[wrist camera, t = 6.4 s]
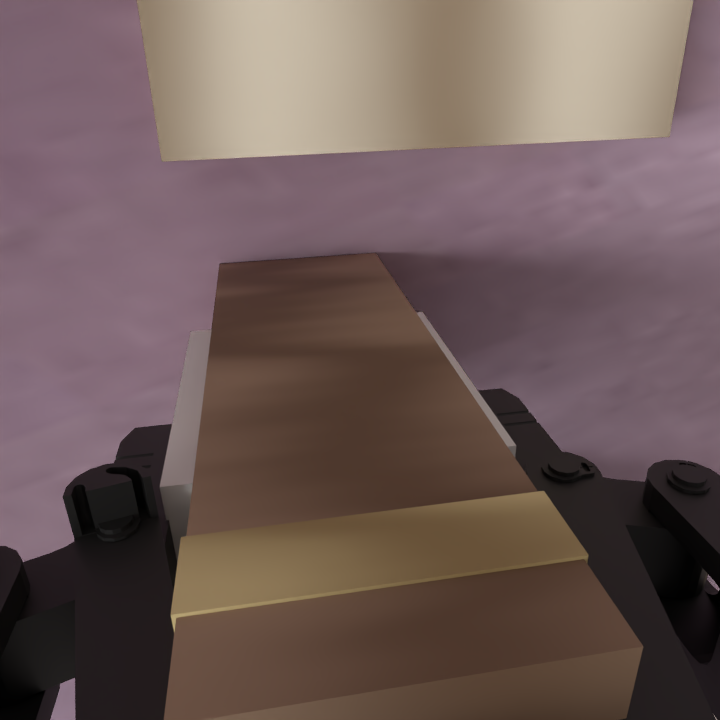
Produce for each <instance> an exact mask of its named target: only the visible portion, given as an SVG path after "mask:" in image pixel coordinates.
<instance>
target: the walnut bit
mask: <svg viewBox="0 0 720 720" xmlns="http://www.w3.org/2000/svg"><path fill="white" fill-rule="evenodd" d="M588 556H589V555H588V553H587V552H586V551H585V549H584V548H583V546H582V545H581V543H580V542H579V540H578V539H577V538H576V536H575V535H574V533H573V532H572V530H571V529H570V528H569V526H568V525H567V523H566V522H565V520H564V519H563V517H562V516H561V515H560V513H559V512H558V510H557V509H556V507H555V506H554V505H553V503H552V502H551V500H550V499H549V497H548V496H547V494H546V493H545V492H544V491H537V489H536V488H535V486H534V485H533V483H532V482H531V481H530V479H529V478H528V476H527V475H526V473H525V472H524V470H523V469H522V467H521V466H520V464H519V463H518V461H517V460H516V458H515V457H514V456H513V454H512V453H511V451H510V450H509V448H508V447H507V445H506V444H505V442H504V441H503V439H502V438H501V436H500V435H499V434H498V432H497V431H496V429H495V428H494V426H493V425H492V423H491V422H490V420H489V419H488V417H487V416H486V414H485V413H484V411H483V410H482V409H481V407H480V406H479V404H478V403H477V401H476V400H475V398H474V397H473V395H472V394H471V392H470V391H469V389H468V388H467V386H466V385H465V384H464V382H463V381H462V379H461V378H460V376H459V375H458V373H457V372H456V370H455V369H454V367H453V366H452V364H451V363H450V361H449V360H448V359H447V357H446V356H445V354H444V353H443V351H442V350H441V348H440V347H439V345H438V344H437V342H436V341H435V339H434V338H433V337H432V335H431V334H430V332H429V331H428V329H427V328H426V326H425V325H424V323H423V322H422V320H421V319H420V317H419V316H418V314H417V313H416V312H415V310H414V309H413V307H412V306H411V304H410V303H409V301H408V300H407V298H406V297H405V295H404V294H403V292H402V291H401V289H400V288H399V287H398V285H397V284H396V282H395V281H394V279H393V278H392V276H391V275H390V273H389V272H388V270H387V269H386V267H385V266H384V264H383V263H382V262H381V260H380V259H379V257H378V256H377V254H376V253H366V254H352V255H338V256H324V257H309V258H295V259H281V260H267V261H253V262H239V263H225V264H220V265H219V273H218V281H217V289H216V298H215V306H214V314H213V322H212V330H211V338H210V346H209V355H208V363H207V371H206V379H205V387H204V395H203V404H202V412H201V420H200V428H199V436H198V444H197V453H196V461H195V469H194V477H193V485H192V493H191V501H190V510H189V518H188V526H187V534H186V536H184V537H181V540H180V548H179V555H178V563H177V570H176V578H175V585H174V593H173V600H172V608H171V619H172V624H173V629H174V640H173V648H172V657H171V665H170V673H169V681H168V689H167V697H166V705H165V714H164V720H620V719H625V718H627V714H628V709H629V705H630V701H631V697H632V692H633V688H634V684H635V680H636V675H637V671H638V667H639V663H640V659H641V654H642V650H643V645H642V644H641V642H640V641H639V639H638V638H637V636H636V635H635V633H634V632H633V630H632V629H631V628H630V626H629V625H628V623H627V622H626V620H625V619H624V617H623V616H622V614H621V613H620V611H619V610H618V608H617V607H616V605H615V604H614V603H613V601H612V600H611V598H610V597H609V595H608V594H607V592H606V591H605V589H604V588H603V586H602V585H601V583H600V582H599V580H598V579H597V578H596V576H595V575H594V573H593V572H592V570H591V569H590V567H589V566H588V564H587V562H588Z"/></svg>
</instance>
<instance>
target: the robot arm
mask: <svg viewBox="0 0 720 720" xmlns="http://www.w3.org/2000/svg"><path fill="white" fill-rule="evenodd" d="M416 313H417V314H418V316H419V317H420V319H421V320H422V322H423V323H424V325H425V326H426V328H427V329H428V331H429V332H430V334H431V335H432V337H433V338H434V339H435V341H436V342H437V344H438V345H439V347H440V348H441V350H442V351H443V353H444V354H445V356H446V357H447V359H448V360H449V361H450V363H451V364H452V366H453V367H454V369H455V370H456V372H457V373H458V375H459V376H460V378H461V379H462V381H463V382H464V384H465V385H466V386H467V388H468V389H469V391H470V392H471V394H472V395H473V397H474V398H475V400H476V401H477V403H478V404H479V406H480V407H481V409H482V410H483V411H484V413H485V414H486V416H487V417H488V419H489V420H490V422H491V423H492V425H493V426H494V428H495V429H496V431H497V432H498V434H499V435H500V436H501V438H502V439H503V441H504V442H505V444H506V445H507V447H508V448H509V450H510V451H511V453H512V454H513V456H514V457H515V458H516V460H517V461H518V463H519V464H520V466H521V467H522V469H523V470H524V472H525V473H526V475H527V476H528V478H529V479H530V481H531V482H532V483H533V485H534V486H535V488H536V489H537V491H544V492H545V493H546V494H547V496H548V497H549V499H550V500H551V502H552V503H553V505H554V506H555V507H556V509H557V510H558V512H559V513H560V515H561V516H562V517H563V519H564V520H565V522H566V523H567V525H568V526H569V528H570V529H571V530H572V532H573V533H574V535H575V536H576V538H577V539H578V540H579V542H580V543H581V545H582V546H583V548H584V549H585V551H586V552H587V553H588V555H589V556H588V562H587V564H588V566H589V567H590V569H591V570H592V572H593V573H594V575H595V576H596V578H597V579H598V580H599V582H600V583H601V585H602V586H603V588H604V589H605V591H606V592H607V594H608V595H609V597H610V598H611V600H612V601H613V603H614V604H615V605H616V607H617V608H618V610H619V611H620V613H621V614H622V616H623V617H624V619H625V620H626V622H627V623H628V625H629V626H630V628H631V629H632V630H633V632H634V633H635V635H636V636H637V638H638V639H639V641H640V642H641V644H642V645H643V650H642V654H641V659H640V663H639V667H638V671H637V675H636V680H635V684H634V688H633V692H632V697H631V701H630V705H629V709H628V714H627V718H625V719H620V720H716V719H715V717H716V718H717V719H718V720H720V590H719V591H718V590H716V589H715V588H714V587H713V586H712V585H711V584H710V583H709V582H708V580H707V576H708V574H709V575H710V577H711V578H712V579H713V580H714V581H715V582H716V584H717V585H718V587H719V588H720V475H719V474H717V473H715V472H714V471H712V470H711V469H709V468H706V467H704V466H701V465H699V464H697V463H693V462H689V461H688V462H687V461H683V460H664V461H661V462H657V463H654V464H653V465H652V466H651V467H650V468H649V469H648V472H647V477H646V482H639V481H628V480H616V479H610V478H603V477H602V474H601V472H600V471H599V470H598V469H597V467H596V466H595V465H594V464H593V463H591V462H590V461H588V460H587V459H585V458H583V457H581V456H578V455H575V454H572V453H567V452H562V451H561V450H560V449H559V448H558V446H557V445H556V444H555V443H554V441H553V440H552V439H551V438H550V436H549V435H548V434H547V433H546V431H545V430H544V429H543V428H542V427H541V425H540V424H539V423H537V422H536V419H535V418H534V417H533V415H532V414H531V413H529V412H528V409H527V408H526V407H525V405H524V404H523V403H522V402H521V401H520V399H519V398H517V397H516V396H514V395H512V394H510V393H509V392H507V391H505V390H503V389H502V388H501V389H491V390H481V391H478V390H477V389H476V388H475V386H474V385H473V383H472V382H471V380H470V379H469V378H468V376H467V375H466V373H465V372H464V370H463V369H462V368H461V366H460V365H459V363H458V362H457V360H456V359H455V358H454V356H453V355H452V353H451V352H450V351H449V349H448V348H447V346H446V345H445V343H444V342H443V341H442V339H441V338H440V336H439V335H438V333H437V332H436V331H435V329H434V328H433V326H432V325H431V323H430V322H429V321H428V319H427V318H426V316H425V315H424V314H423V312H416ZM210 338H211V330H200V331H191V332H190V337H189V342H188V347H187V352H186V357H185V362H184V367H183V372H182V377H181V382H180V387H179V392H178V397H177V402H176V407H175V412H174V417H173V422H172V424H168V425H158V426H149V427H139V428H135V429H134V430H133V431H131V432H130V433H129V434H128V435H127V436H126V437H125V438H124V439H123V440H122V441H121V443H120V446H119V449H118V452H117V455H116V460H115V462H114V463H112V464H105V465H102V466H99V467H96V468H93V469H90V470H88V471H86V472H85V473H83V474H81V475H79V476H78V477H76V478H75V479H74V480H73V481H72V482H71V483H70V484H69V485H68V486H67V487H66V489H65V492H64V495H63V499H64V503H65V507H66V510H67V514H68V517H69V521H70V524H71V528H72V531H73V535H74V542H73V543H71V544H69V545H68V546H66V547H64V548H62V549H59V550H57V551H54V552H52V553H49V554H46V555H43V556H40V557H37V558H34V559H31V560H29V561H26V562H22V559H21V557H20V556H19V554H18V553H17V551H16V550H13V549H11V548H8V547H6V546H0V720H50V718H51V715H52V712H53V708H54V705H55V702H56V699H57V695H58V692H59V689H60V683H63V682H65V681H67V680H70V679H72V678H75V709H76V720H164V714H165V705H166V697H167V689H168V681H169V673H170V665H171V657H172V648H173V640H174V629H173V624H172V619H171V608H172V600H173V593H174V585H175V578H176V570H177V563H178V555H179V548H180V540H181V537H184V536H186V534H187V526H188V518H189V510H190V501H191V493H192V485H193V477H194V469H195V461H196V453H197V444H198V436H199V428H200V420H201V412H202V404H203V395H204V387H205V379H206V371H207V363H208V355H209V346H210ZM713 714H714V715H715V717H714V715H713Z"/></svg>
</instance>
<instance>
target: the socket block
mask: <svg viewBox="0 0 720 720" xmlns="http://www.w3.org/2000/svg"><path fill="white" fill-rule="evenodd" d="M137 5H138V11H139V18H140V24H141V31H142V37H143V44H144V50H145V56H146V63H147V69H148V76H149V82H150V89H151V95H152V102H153V108H154V115H155V121H156V128H157V134H158V141H159V147H160V154H161V160H162V162H164V161H185V160H205V159H226V158H246V157H267V156H287V155H308V154H328V153H349V152H370V151H390V150H411V149H431V148H452V147H472V146H493V145H513V144H534V143H554V142H575V141H595V140H616V139H636V138H657V137H669V136H670V130H671V125H672V119H673V113H674V108H675V102H676V96H677V90H678V85H679V79H680V73H681V68H682V62H683V56H684V51H685V45H686V39H687V34H688V28H689V22H690V16H691V11H692V5H693V0H137Z"/></svg>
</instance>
